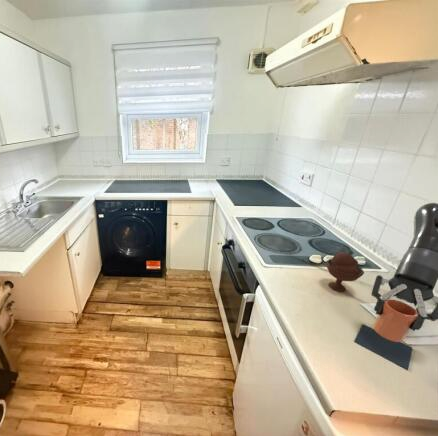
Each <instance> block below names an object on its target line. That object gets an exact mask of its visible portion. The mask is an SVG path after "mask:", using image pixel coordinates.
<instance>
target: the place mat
mask: <svg viewBox="0 0 438 436" xmlns="http://www.w3.org/2000/svg"><path fill="white" fill-rule="evenodd" d="M353 342H354V343H356V344H357V345H360V346H361V347H363V348H364V349H367V350H369V351H370V352H373V354H376V355H378V356H380V357H382V358H384V359H385V360H387V361H388V362H389V361H390V362H391V363H393V364H395V365H397V366H399V367H401V368H403V369H405V370H406V371H408V370H409V367H410V363H411V357H412V353H413V347H412V346H410V345H408V344H406V343H403V341H402V342H394V341H391V340H388V339H386V338H384V337H382V336H381V335H379V334H378V333H377V332H376V331H375V330H374V328H373V327H370V326H369V325H366V324H364V323H362V324H361V326H360V328H359V330H358V332H357V334H356V337H355V338H354V340H353Z"/></svg>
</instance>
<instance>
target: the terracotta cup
mask: <svg viewBox="0 0 438 436" xmlns="http://www.w3.org/2000/svg"><path fill="white" fill-rule="evenodd" d="M384 302H385V303H384V306H383V308H382V310H381V312H380V314H379V315H378V314H377V317H376V318H375V321H374V323H373V325H372V328H373V329H374V330H375V331H376V332H377V333H378V334H379V335H381V336H382V337H384V338H386V339H388V340H391V341H394V342H402V343H403V342H404V340H405V339H406V337H407V335H408V334H409V332H410V330H411V329H410V328H411V326H412V325H413V323H414V321H415V320H416V318H417V316H418V312H417V311H416V309H415V307H414V306H413V307H412V306H411V305H410V304H408V303H405V302H402V301H400V300H397V299H392V298H391V299H388V300H386V301H384Z"/></svg>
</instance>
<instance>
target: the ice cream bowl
mask: <svg viewBox="0 0 438 436" xmlns="http://www.w3.org/2000/svg"><path fill="white" fill-rule="evenodd" d="M325 265H326V268H327V271H328V273H329V274H330V276H332V277H333V278H334V279H336V280H335V281H330V282H329V283H327V285H328V288H330V289H331V290H333V291H335V292H338V293H345V292H346V291H347V289H346V286H345V285H343V284H342V283H343V282H354V281H357V280H359V279H360V278H361V277H363V275H364V274H365V271H364V270H363V268H362V267H361V266H359V261H358V260H357V259H356V258H355V257H354V256H352V254H350V253H348V252H338V253H335V255H333V257H332V258H330V259H328V260H327V259H326V261H325Z"/></svg>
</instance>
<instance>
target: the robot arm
mask: <svg viewBox="0 0 438 436" xmlns="http://www.w3.org/2000/svg"><path fill="white" fill-rule="evenodd" d="M437 282H438V203H437V202H429V203H425V204H423V205H421V206H419V208H418V209H417V210H416V211H415V214H414V216H413V236H412V240H411V242H410V244H409V246H408V248H407V250H406V251H405V253H404V254H403V256H402V258H401V260H400V261H399V264H398V266H397V269H396V271H395V273H394V275H393V276H392V277H391V278H386V277H383V276H382V275H380V274H379V275H377V276H376V277H375V280H374V283H373V287H372V290H371V293H370V295H371V297H373V298H375V299H376V300H377V302H376V303H375V305H374V308H373V311H374V312H375V314H376V315H377V316H378V315H379V314H380V312H381V310H382V308H383V306H384V303H385V301H386V300H389V299H391V300H392V298H396V299H398V300H402V301H405V302H407V303H409V304H411V305H413V308H414V309H415V310H416V311H417V312H418V316H417V318H416V320H415V321H414V323H413V325H412V326H411V328H410V330H411V331H413V332H414V331H416V330H417V331H418V330H421V329H422V328H423V325H424V323H425V321H426V320H429V321H431V322H435V321H437V320H438V296H436V295H435V294H434V289H435V287H436V284H437ZM385 284H388V287H389V288H390V290H389V291H387V292H385V293H383V294H380V293H379V291H380V288H381V286H385ZM430 300H432V304H433V306H435V307H434V308H433V310H432V312H431V313H427V310H426V305H425V302H427V301H430Z"/></svg>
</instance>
